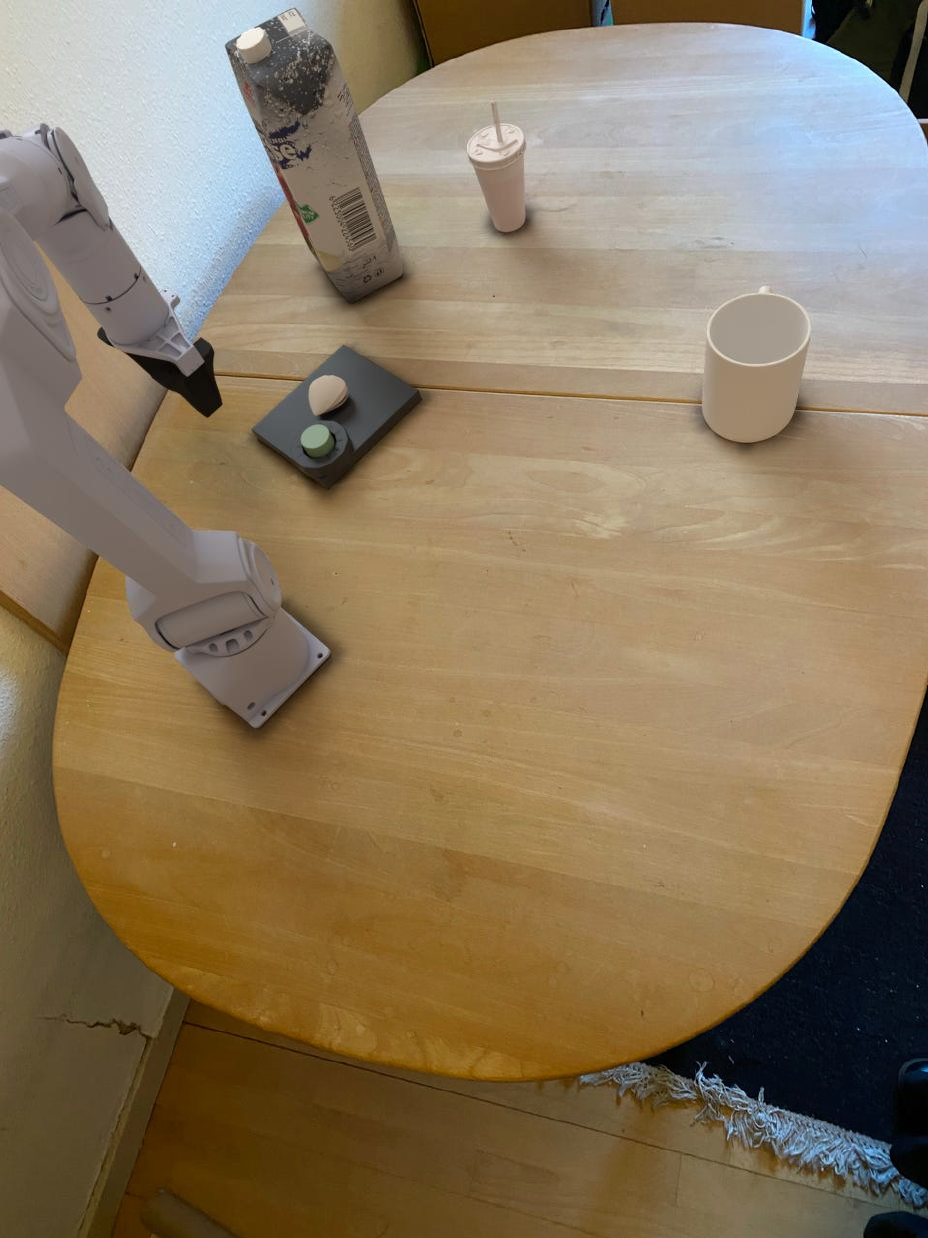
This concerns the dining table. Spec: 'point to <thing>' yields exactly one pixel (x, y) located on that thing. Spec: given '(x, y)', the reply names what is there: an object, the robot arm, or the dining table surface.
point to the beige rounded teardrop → (327, 394)
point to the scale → (339, 416)
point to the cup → (754, 365)
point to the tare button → (317, 441)
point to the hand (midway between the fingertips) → (190, 392)
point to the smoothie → (500, 171)
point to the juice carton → (317, 150)
